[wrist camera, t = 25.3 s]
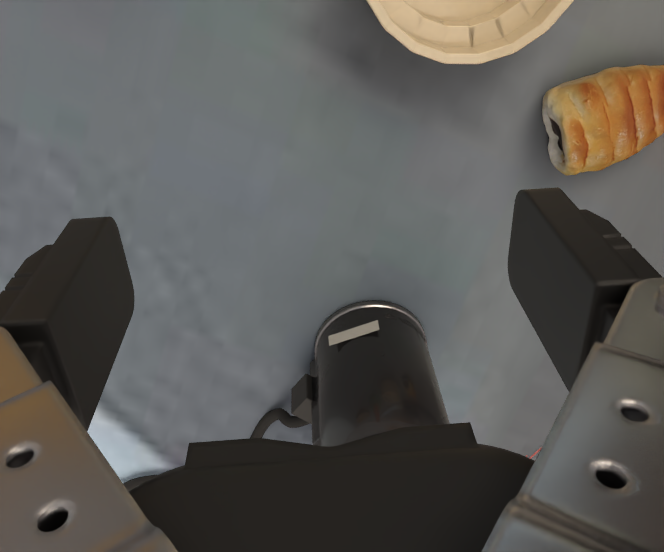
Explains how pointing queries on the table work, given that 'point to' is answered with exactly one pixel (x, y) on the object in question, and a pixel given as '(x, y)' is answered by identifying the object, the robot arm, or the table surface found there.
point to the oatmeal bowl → (466, 26)
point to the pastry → (603, 117)
